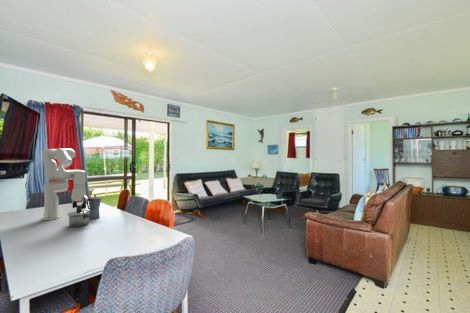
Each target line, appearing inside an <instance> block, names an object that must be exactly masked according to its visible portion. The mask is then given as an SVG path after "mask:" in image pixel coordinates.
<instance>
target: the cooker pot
mask: <svg viewBox="0 0 470 313" xmlns="http://www.w3.org/2000/svg"><path fill="white" fill-rule="evenodd" d="M67 216H68V228H71V229H72V228H73V229H74V228H83V227H86V226H88V225H90V219H89V217H91V215H89V213H88V214H85V215H79V216H69V215H68V214H67Z"/></svg>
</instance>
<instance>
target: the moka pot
mask: <svg viewBox="0 0 470 313" xmlns="http://www.w3.org/2000/svg"><path fill="white" fill-rule="evenodd" d="M101 200H102V197H101V196H97V194H94V196H92V197H88V200H87V203H86V208H87V210H89V211H90V213H89V215H91V217H89V220H94V219H99V218H100V217H101V216H100V206H101Z"/></svg>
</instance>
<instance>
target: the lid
mask: <svg viewBox="0 0 470 313" xmlns="http://www.w3.org/2000/svg"><path fill="white" fill-rule="evenodd" d="M88 213H90V209H82V204H77V206H76V210H72V211H69V212H68V213H67V216H68V215H69V216H79V215H85V214H88ZM69 216H68V217H69Z"/></svg>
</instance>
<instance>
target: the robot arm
mask: <svg viewBox="0 0 470 313" xmlns="http://www.w3.org/2000/svg"><path fill="white" fill-rule="evenodd" d="M75 157H76V151H75V149H73V148H45V149H44V150H42V152H41V160H42V162H43V165H44V168H43V169H44V179H45V180H46V181H47V182H45V183H44V184H43V186H42V190H43V194H44V195H43V196H44V199H43V200H44V205H43V206H44V208H43V209H44V213H42V216H43V217H42V218H41V220H42V221H51V220H58V219H60V218H61V216H62V215H59V198H60V197H59V196H58V194H57V193H62V192H66V191H68V188H69V180H73V188H72V190H71V191H72V192H71V196H70V201H71V203H72V205H71V206H72V209H74V208H76V206H77V205H78V202H81V205H82V210H86V208H87V200H88V198H89V197H87V192H86V191H87V190H86V171H85V170H82V169H67V170H66V169H65V168H67V167H70V166H71V165H72V164H73V159H74V158H75ZM56 160H57V161H58V163H59V164H57V162H56Z"/></svg>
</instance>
